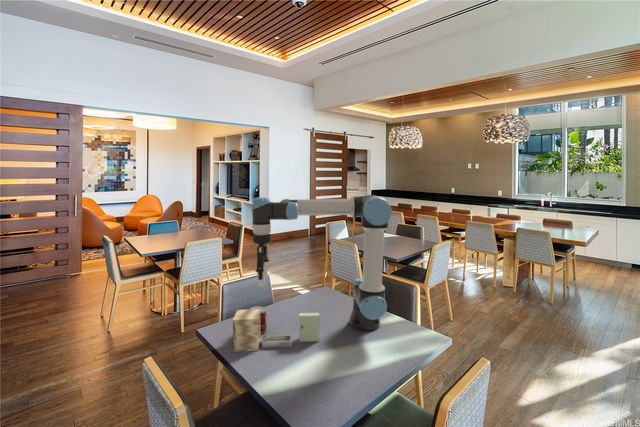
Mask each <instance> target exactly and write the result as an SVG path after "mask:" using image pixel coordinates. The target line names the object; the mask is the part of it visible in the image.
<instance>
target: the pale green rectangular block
mask: <svg viewBox="0 0 640 427" xmlns="http://www.w3.org/2000/svg"><path fill="white" fill-rule="evenodd" d="M298 331H299V332H298V336H299V337H298V341H299V342H303V343H304V342H320V312H299V314H298Z"/></svg>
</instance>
